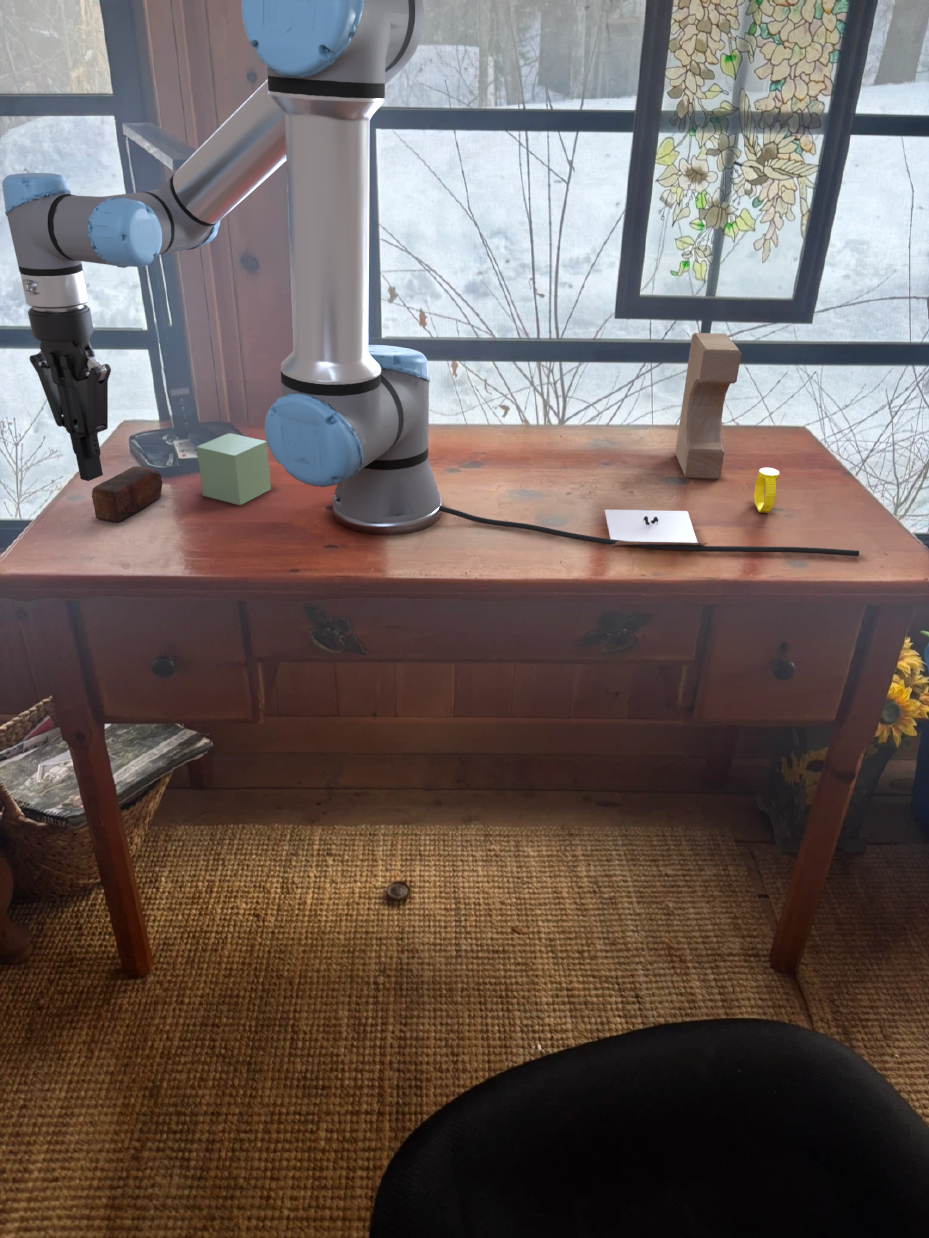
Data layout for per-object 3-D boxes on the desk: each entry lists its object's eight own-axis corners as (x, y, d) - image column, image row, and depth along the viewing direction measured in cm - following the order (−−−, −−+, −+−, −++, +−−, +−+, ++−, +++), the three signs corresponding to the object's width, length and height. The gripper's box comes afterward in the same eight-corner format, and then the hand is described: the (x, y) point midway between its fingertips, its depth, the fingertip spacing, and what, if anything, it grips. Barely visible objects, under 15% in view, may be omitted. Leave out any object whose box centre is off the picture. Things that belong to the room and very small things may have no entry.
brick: (120, 524, 124) (114, 492, 122) (95, 520, 125) (89, 488, 123) (165, 496, 133) (160, 465, 131) (141, 492, 134) (136, 462, 132)
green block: (271, 489, 136) (266, 441, 132) (240, 505, 131) (234, 455, 127) (234, 480, 139) (229, 432, 135) (202, 495, 133) (196, 446, 130)
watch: (747, 500, 136) (754, 462, 133) (766, 501, 136) (773, 463, 133) (756, 517, 131) (764, 478, 128) (776, 518, 131) (784, 478, 128)
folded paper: (686, 518, 130) (688, 505, 129) (706, 556, 119) (708, 542, 118) (602, 516, 130) (603, 503, 129) (614, 554, 119) (616, 541, 118)
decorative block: (720, 480, 143) (742, 351, 132) (683, 479, 143) (702, 349, 133) (709, 455, 152) (729, 333, 142) (674, 454, 152) (692, 332, 142)
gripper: (-1, 305, 118) (38, 476, 130) (70, 317, 113) (104, 495, 125) (47, 295, 124) (80, 460, 136) (117, 307, 119) (145, 477, 131)
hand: (91, 477), depth 130 cm, fingers closed
